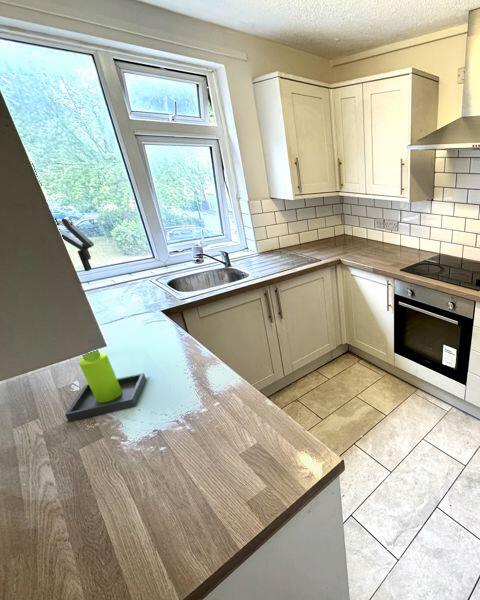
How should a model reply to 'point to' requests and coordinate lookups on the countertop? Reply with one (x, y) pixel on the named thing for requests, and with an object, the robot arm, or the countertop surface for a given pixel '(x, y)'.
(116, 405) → the tray
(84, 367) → the soap dispenser
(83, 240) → the robot arm
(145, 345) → the countertop surface
